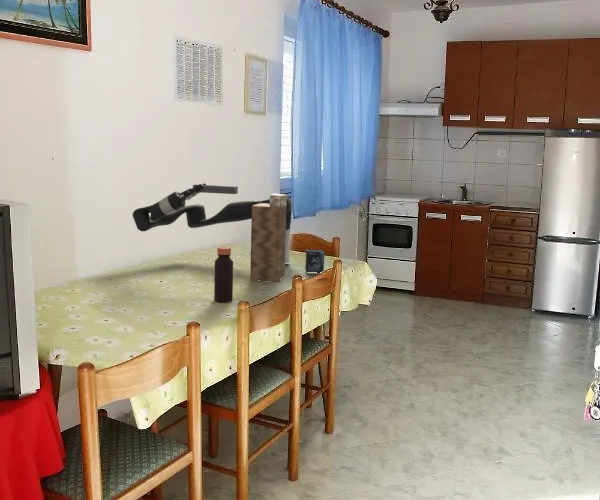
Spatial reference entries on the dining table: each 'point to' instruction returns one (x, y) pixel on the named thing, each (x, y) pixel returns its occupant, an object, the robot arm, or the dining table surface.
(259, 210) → the stand
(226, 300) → the bottle
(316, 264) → the box
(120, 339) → the dining table surface
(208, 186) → the dark grey matte block
